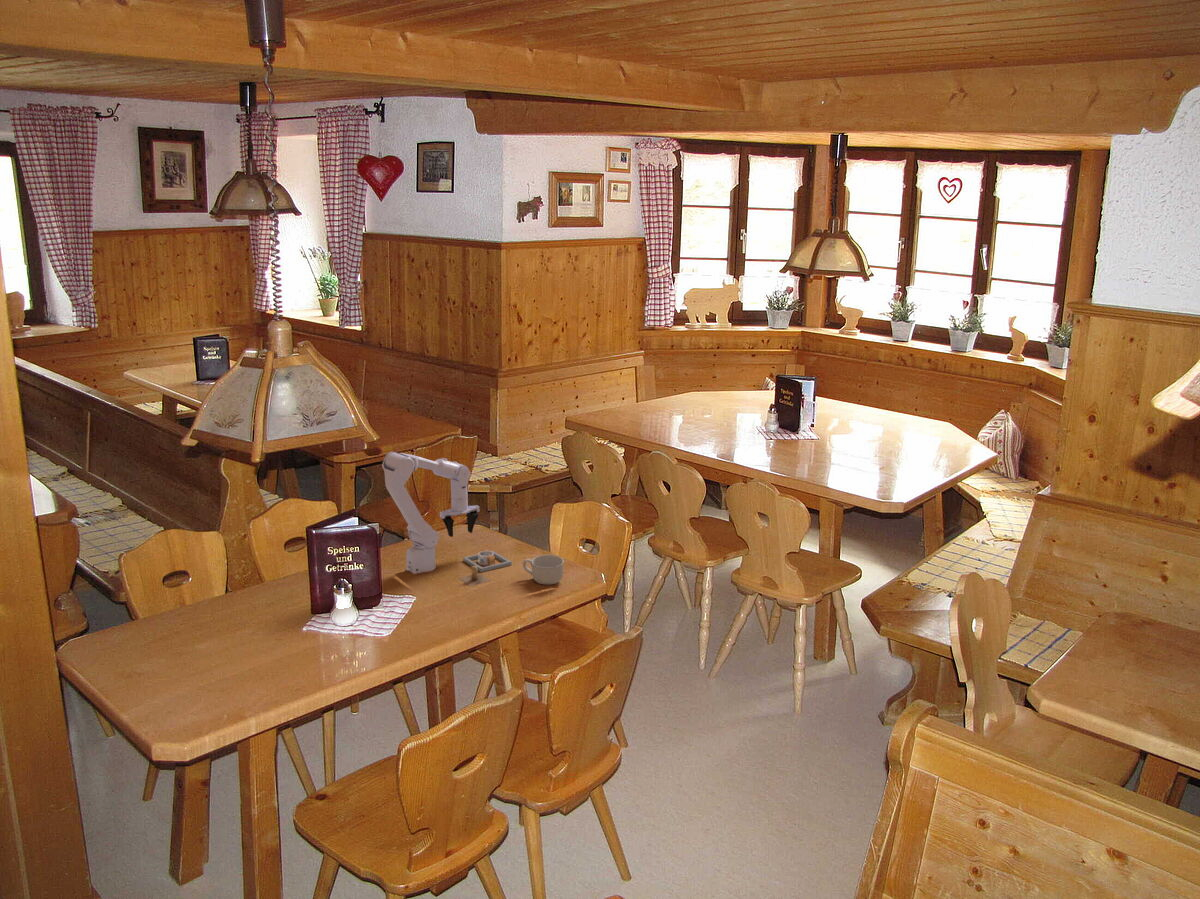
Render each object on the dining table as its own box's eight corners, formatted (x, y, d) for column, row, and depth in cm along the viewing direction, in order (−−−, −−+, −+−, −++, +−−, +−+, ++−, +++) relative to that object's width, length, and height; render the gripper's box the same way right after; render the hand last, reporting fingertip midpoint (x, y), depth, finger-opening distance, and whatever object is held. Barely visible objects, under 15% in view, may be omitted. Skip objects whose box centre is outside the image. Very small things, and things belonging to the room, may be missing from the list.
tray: (481, 574, 337) (481, 568, 337) (463, 562, 347) (463, 557, 347) (511, 567, 344) (511, 561, 343) (493, 555, 354) (492, 550, 354)
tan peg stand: (469, 588, 325) (469, 573, 324) (458, 580, 332) (458, 565, 330) (491, 582, 330) (490, 568, 329) (479, 575, 336) (479, 560, 335)
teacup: (569, 579, 333) (569, 557, 331) (554, 591, 324) (554, 568, 322) (533, 572, 339) (532, 551, 337) (517, 583, 329) (517, 561, 327)
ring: (485, 568, 341) (485, 559, 340) (475, 562, 347) (475, 552, 346) (499, 565, 344) (499, 555, 343) (489, 558, 350) (489, 549, 349)
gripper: (445, 503, 338) (446, 541, 342) (483, 496, 346) (484, 533, 350) (436, 498, 344) (437, 535, 347) (473, 491, 352) (474, 527, 355)
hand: (460, 534), depth 349 cm, fingers open, 7 cm apart
